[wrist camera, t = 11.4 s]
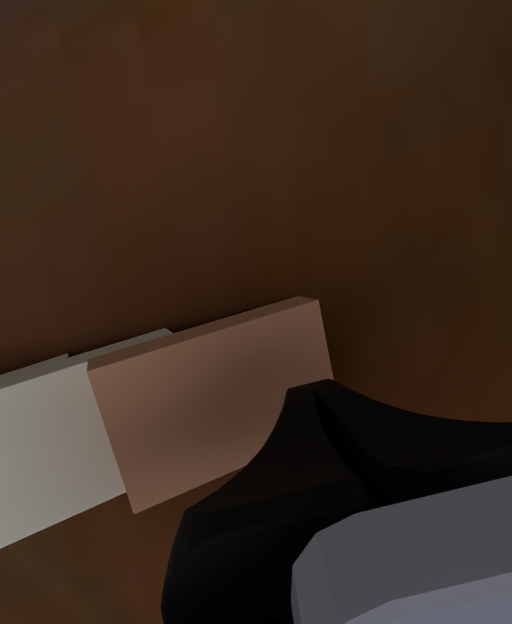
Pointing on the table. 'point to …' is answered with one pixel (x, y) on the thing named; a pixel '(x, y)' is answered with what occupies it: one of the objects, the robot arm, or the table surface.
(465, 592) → the robot arm
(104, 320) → the table surface
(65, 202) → the table surface
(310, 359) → the terracotta domino
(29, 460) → the ivory domino
